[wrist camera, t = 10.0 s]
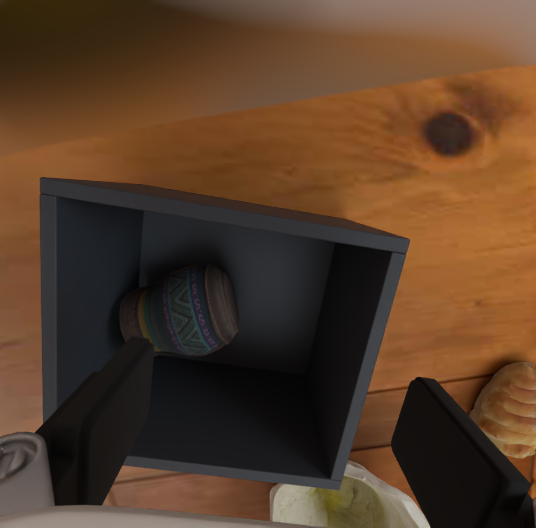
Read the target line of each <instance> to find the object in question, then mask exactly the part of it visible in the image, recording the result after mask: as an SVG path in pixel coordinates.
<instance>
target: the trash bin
mask: <svg viewBox="0 0 536 528" xmlns="http://www.w3.org/2000/svg"><path fill="white" fill-rule="evenodd" d="M40 193H41V194H40V250H41V316H42V381H43V423H44V422H45V421H46V420H47V419H48V418H49V417H50V416H51V415H52V414H53V413H54V412H55V411H56V410H57V409H58V408H59V407H60V406H61V405H62V404H63V402H64V401H65V400H66V399H67V398H68V397H69V396H70V395H71V394H72V393H73V392H74V391H75V390H76V389H77V388H78V387H79V386H80V385H81V384H82V383H83V381H84V380H85V379H86V378H87V377H88V376H89V375H90V374H92V373H93V372H99V371H100V370H101V369H102V368H103V367H104V366H105V365H106V363H107V362H108V361H109V360H110V359H111V358H112V357H113V356H114V355H115V354H116V353H117V352H118V350H119V349H120V348H121V347H122V346H123V345H124V344H125V343H126V342H125V340H124V338H123V335H122V331H121V327H120V321H119V310H120V304H121V301H122V299H123V297H124V296H125V294H126V293H128V292H129V291H131V290H135V289H138V288H141V287H145V286H148V285H149V284H151V283H153V282H155V281H157V280H158V279H160V278H161V277H162V276H164V275H165V274H167V273H168V272H170V271H172V270H173V269H175V268H177V267H180V266H182V265H187V264H202V265H208V264H210V265H212V266H215V267H217V268H218V269H220V270H221V271H222V272H224V273H226V274H227V276H228V278H229V279H230V282H231V284H232V287H233V290H234V294H235V298H236V302H237V307H238V313H239V327H238V333H236V335H235V336H234V338H233V339H232V340H231V341H230V342H229V344H227V345H224V346H223V347H221V348H220V349H218V350H216V351H214V352H212V353H210V354H207V355H203V356H176V355H175V356H174V355H166V354H164V355H163V354H160V355H159V356H155V357H154V359H153V371H152V383H151V395H150V407H149V413H148V416H147V419H146V421H145V423H144V425H143V427H142V429H141V431H140V432H139V434H138V436H137V438H136V440H135V442H134V444H133V446H132V448H131V450H130V452H129V454H128V456H127V458H126V460H125V461H124V463H123V465H125V466H134V467H143V468H151V469H160V470H168V471H177V472H186V473H194V474H203V475H211V476H220V477H229V478H237V479H246V480H254V481H263V482H272V483H280V484H289V485H297V486H306V487H315V488H323V489H332V490H340V486H341V483H342V479H343V476H344V472H345V469H346V465H347V462H348V458H349V455H350V451H351V448H352V444H353V441H354V437H355V434H356V430H357V427H358V423H359V419H360V416H361V412H362V409H363V405H364V402H365V398H366V395H367V391H368V388H369V384H370V381H371V377H372V374H373V370H374V367H375V363H376V360H377V356H378V353H379V349H380V346H381V342H382V339H383V335H384V331H385V328H386V324H387V321H388V317H389V314H390V310H391V307H392V303H393V300H394V296H395V293H396V289H397V286H398V282H399V279H400V275H401V272H402V268H403V265H404V261H405V258H406V254H405V253H407V250H408V246H409V243H410V239H408V238H404V237H401V236H398V235H395V234H392V233H388V232H385V231H382V230H379V229H376V228H373V227H369V226H366V225H363V224H360V223H357V222H353V221H350V220H347V219H342V218H336V217H330V216H324V215H318V214H312V213H307V212H301V211H295V210H289V209H283V208H277V207H271V206H265V205H259V204H254V203H248V202H242V201H236V200H230V199H224V198H218V197H212V196H206V195H201V194H195V193H189V192H183V191H177V190H171V189H165V188H159V187H153V186H148V185H142V184H129V183H115V182H101V181H87V180H73V179H59V178H45V177H42V178H40Z"/></svg>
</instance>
